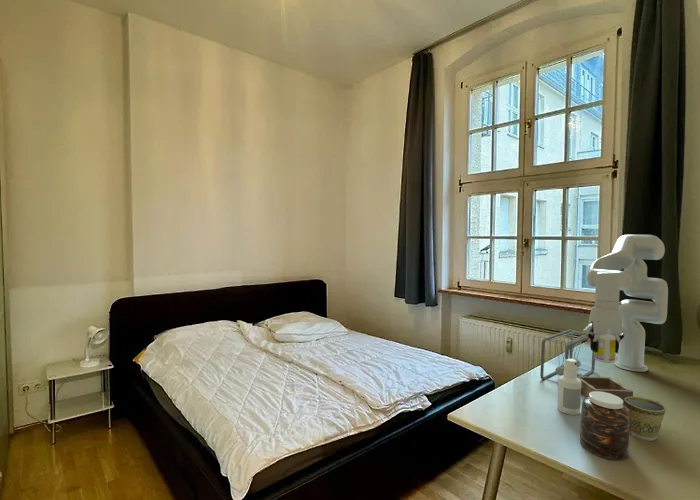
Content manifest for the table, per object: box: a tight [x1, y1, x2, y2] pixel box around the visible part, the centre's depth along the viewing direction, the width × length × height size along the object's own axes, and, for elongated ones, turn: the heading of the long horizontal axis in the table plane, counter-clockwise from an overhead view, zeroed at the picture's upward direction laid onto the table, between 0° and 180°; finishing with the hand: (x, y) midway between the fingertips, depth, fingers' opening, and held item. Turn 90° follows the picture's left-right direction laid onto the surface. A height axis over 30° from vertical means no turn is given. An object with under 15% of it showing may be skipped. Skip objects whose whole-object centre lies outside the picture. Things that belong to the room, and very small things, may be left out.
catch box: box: [577, 375, 634, 406], centre depth 144 cm, size 13×13×5 cm
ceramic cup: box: [624, 395, 666, 442], centre depth 117 cm, size 13×10×10 cm
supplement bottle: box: [594, 329, 616, 364], centre depth 143 cm, size 7×7×13 cm
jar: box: [579, 391, 630, 461], centre depth 109 cm, size 12×12×15 cm
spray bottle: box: [557, 357, 582, 416], centre depth 132 cm, size 7×7×18 cm
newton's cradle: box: [540, 328, 596, 385], centre depth 164 cm, size 30×10×18 cm, turn 129°
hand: (604, 351), depth 143 cm, fingers closed on supplement bottle, 6 cm apart
